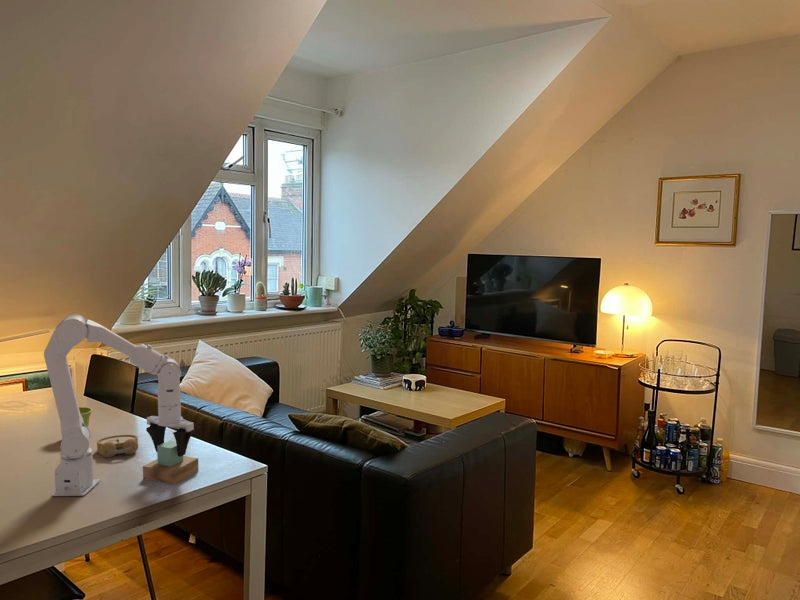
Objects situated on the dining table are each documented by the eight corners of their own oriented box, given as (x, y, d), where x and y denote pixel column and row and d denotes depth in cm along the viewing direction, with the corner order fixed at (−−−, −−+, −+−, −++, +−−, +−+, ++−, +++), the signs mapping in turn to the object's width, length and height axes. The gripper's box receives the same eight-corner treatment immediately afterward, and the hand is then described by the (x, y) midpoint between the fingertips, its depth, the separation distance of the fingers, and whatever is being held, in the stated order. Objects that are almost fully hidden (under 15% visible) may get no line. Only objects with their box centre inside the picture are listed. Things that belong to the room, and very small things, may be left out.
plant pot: (99, 436, 198) (98, 409, 197) (71, 444, 190) (70, 416, 189) (81, 431, 203) (80, 405, 202) (53, 439, 195) (52, 412, 194)
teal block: (183, 461, 168) (182, 443, 167) (170, 466, 163) (170, 448, 163) (170, 458, 170) (169, 440, 169) (157, 463, 165) (157, 445, 165)
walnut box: (198, 472, 170) (198, 458, 170) (174, 486, 161) (174, 471, 160) (168, 467, 173) (168, 453, 173) (143, 480, 164) (142, 466, 164)
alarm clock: (135, 432, 193) (141, 438, 180) (136, 448, 193) (142, 455, 180) (95, 438, 188) (98, 444, 175) (96, 454, 188) (99, 461, 175)
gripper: (201, 403, 166) (202, 452, 167) (159, 397, 172) (161, 444, 173) (182, 410, 159) (183, 461, 161) (140, 403, 165) (141, 452, 166)
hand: (170, 453), depth 166 cm, fingers open, 7 cm apart
